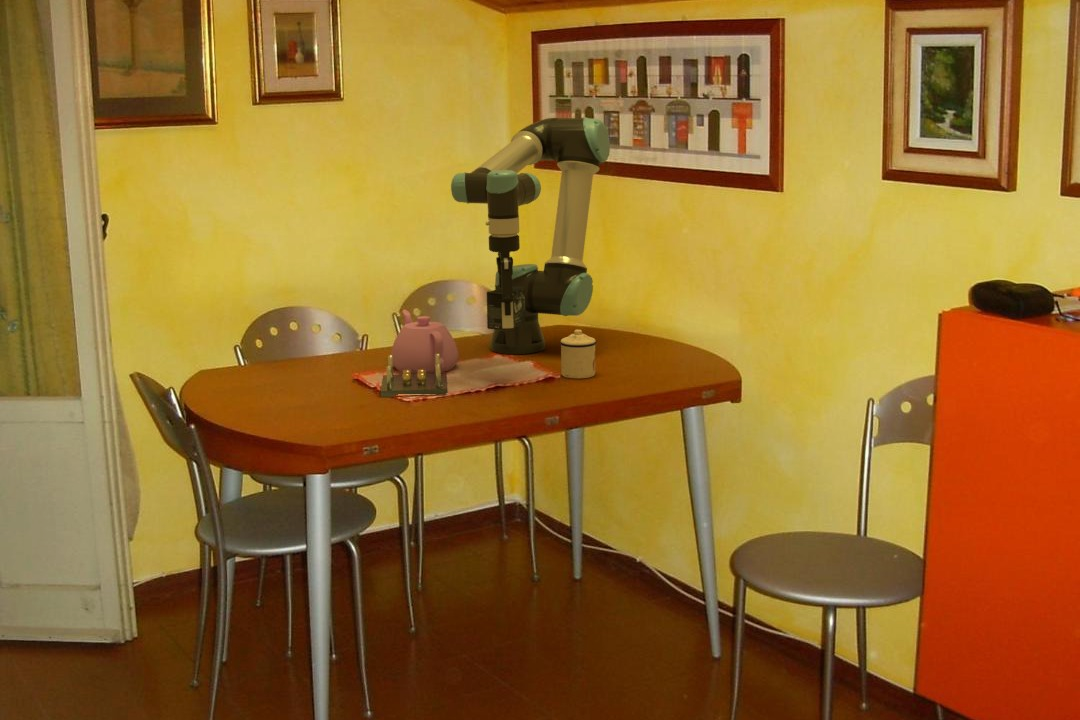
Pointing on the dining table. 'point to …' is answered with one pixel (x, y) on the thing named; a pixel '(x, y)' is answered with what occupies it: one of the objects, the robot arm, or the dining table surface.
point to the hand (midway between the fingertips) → (506, 322)
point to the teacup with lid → (578, 356)
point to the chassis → (413, 381)
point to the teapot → (423, 346)
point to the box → (496, 308)
